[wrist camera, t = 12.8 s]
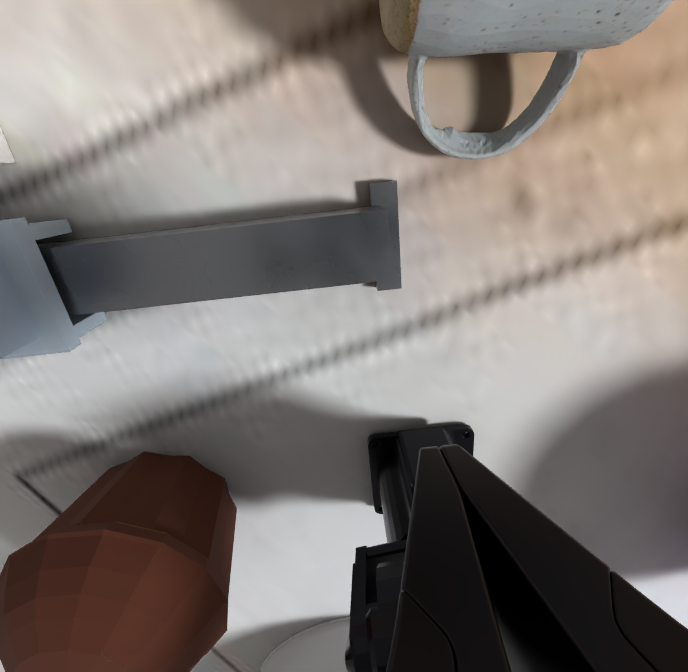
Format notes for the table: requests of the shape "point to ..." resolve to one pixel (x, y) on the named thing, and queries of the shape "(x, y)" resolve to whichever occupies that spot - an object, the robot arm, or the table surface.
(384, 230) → the rail
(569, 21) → the ceramic mug
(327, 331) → the table surface
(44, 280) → the carriage
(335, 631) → the kettle
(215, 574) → the muffin
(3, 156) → the white button housing
